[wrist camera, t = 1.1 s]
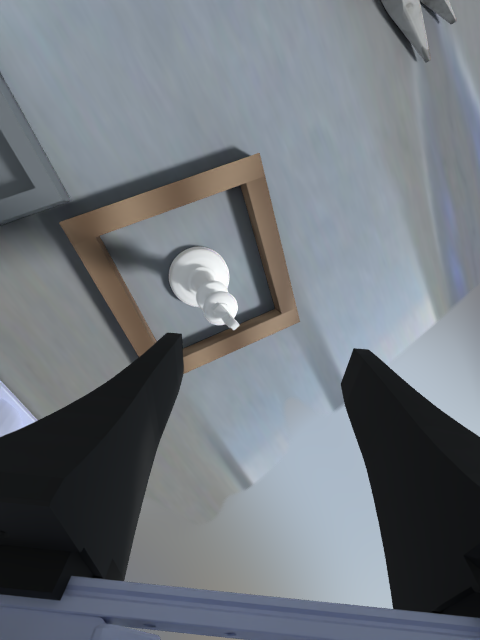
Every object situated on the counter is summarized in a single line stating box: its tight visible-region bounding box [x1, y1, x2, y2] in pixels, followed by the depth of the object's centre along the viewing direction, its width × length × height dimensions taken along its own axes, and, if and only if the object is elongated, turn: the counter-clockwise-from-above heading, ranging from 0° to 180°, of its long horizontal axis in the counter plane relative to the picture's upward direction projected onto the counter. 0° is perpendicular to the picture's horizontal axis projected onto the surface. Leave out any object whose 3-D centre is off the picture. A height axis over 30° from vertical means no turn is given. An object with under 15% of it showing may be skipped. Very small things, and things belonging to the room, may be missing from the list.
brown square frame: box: [59, 153, 300, 374], centre depth 22 cm, size 14×14×2 cm
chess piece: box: [169, 247, 240, 330], centre depth 18 cm, size 5×5×10 cm
